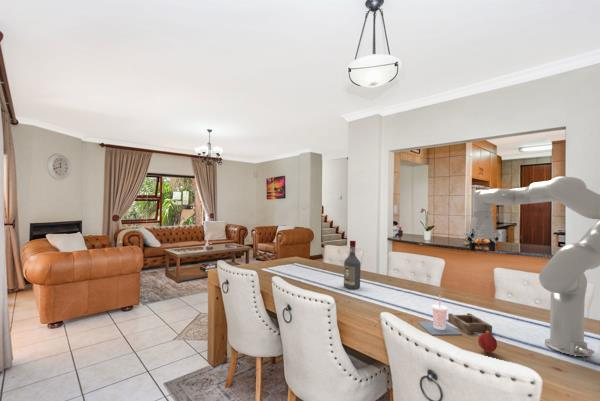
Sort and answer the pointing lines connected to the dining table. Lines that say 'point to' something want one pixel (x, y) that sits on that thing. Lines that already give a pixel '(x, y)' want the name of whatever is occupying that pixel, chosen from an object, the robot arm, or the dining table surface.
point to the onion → (487, 342)
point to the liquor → (352, 269)
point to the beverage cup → (439, 316)
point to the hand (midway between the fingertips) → (482, 250)
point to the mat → (433, 331)
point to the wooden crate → (469, 323)
